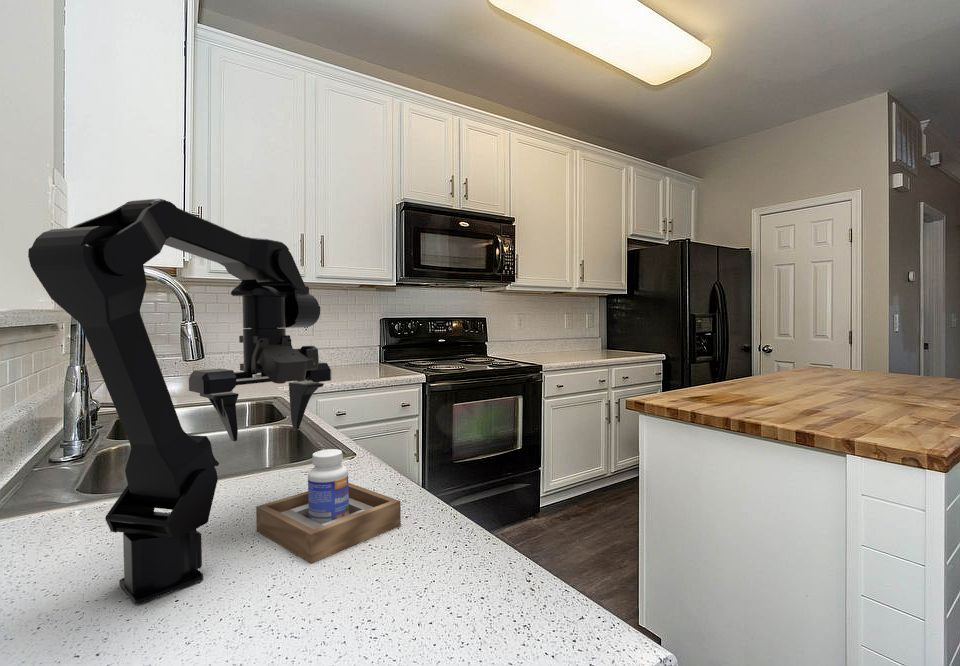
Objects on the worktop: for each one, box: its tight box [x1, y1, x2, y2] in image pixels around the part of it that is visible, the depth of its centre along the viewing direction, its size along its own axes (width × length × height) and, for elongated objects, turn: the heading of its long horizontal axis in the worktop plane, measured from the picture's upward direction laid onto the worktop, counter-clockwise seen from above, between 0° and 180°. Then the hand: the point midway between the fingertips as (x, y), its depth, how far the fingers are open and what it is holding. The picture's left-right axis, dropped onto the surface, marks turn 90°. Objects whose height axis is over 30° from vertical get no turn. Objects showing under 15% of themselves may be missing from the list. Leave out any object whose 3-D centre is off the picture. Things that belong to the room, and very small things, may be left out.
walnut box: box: [255, 482, 402, 564], centre depth 68 cm, size 14×14×4 cm
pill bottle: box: [307, 448, 349, 524], centre depth 68 cm, size 5×5×10 cm
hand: (266, 434), depth 71 cm, fingers open, 9 cm apart
